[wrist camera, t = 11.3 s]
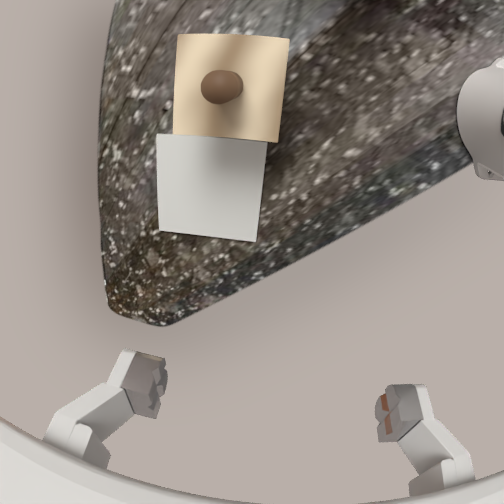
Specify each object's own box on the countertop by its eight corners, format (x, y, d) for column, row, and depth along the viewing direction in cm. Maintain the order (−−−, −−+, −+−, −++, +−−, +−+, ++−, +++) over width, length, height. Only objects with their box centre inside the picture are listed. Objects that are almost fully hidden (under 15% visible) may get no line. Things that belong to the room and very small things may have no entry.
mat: (267, 141, 36) (267, 142, 36) (256, 240, 44) (255, 242, 43) (158, 133, 37) (156, 134, 36) (160, 228, 44) (159, 230, 44)
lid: (289, 40, 23) (291, 31, 18) (277, 140, 28) (277, 154, 24) (181, 35, 23) (160, 28, 19) (176, 132, 29) (155, 144, 24)
